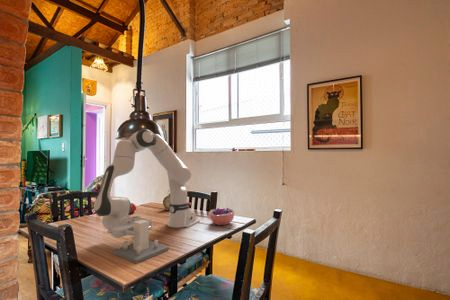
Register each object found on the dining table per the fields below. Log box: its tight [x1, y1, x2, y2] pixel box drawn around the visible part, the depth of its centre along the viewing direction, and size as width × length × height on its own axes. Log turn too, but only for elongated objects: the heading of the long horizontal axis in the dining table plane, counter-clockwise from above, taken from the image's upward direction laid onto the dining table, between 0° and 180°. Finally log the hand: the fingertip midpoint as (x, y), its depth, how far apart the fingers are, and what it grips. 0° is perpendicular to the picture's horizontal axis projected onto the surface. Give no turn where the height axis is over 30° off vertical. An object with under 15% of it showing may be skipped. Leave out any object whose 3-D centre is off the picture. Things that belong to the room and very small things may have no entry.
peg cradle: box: [112, 239, 169, 264], centre depth 119 cm, size 18×18×5 cm
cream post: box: [132, 220, 150, 251], centre depth 119 cm, size 5×5×13 cm
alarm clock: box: [162, 189, 170, 211], centre depth 204 cm, size 11×5×16 cm, turn 105°
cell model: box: [208, 207, 235, 226], centre depth 166 cm, size 17×20×11 cm
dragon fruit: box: [130, 202, 137, 214], centre depth 193 cm, size 8×8×12 cm
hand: (142, 230), depth 119 cm, fingers open, 8 cm apart
